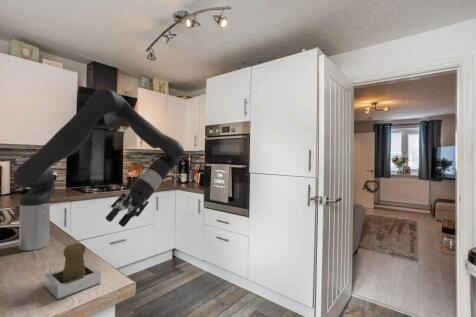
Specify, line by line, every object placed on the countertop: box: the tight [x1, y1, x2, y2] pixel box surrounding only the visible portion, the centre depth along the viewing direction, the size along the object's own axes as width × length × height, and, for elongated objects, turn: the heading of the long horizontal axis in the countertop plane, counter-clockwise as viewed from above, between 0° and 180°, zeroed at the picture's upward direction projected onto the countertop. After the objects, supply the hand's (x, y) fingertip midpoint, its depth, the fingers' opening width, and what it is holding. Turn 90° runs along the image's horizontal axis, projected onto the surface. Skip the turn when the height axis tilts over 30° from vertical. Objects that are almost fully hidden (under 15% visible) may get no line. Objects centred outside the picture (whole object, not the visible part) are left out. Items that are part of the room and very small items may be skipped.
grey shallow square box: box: [43, 261, 102, 302], centre depth 68 cm, size 10×10×3 cm
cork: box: [61, 242, 86, 284], centre depth 69 cm, size 6×6×11 cm
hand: (113, 222), depth 77 cm, fingers open, 8 cm apart
